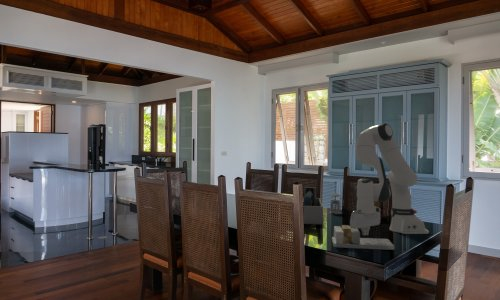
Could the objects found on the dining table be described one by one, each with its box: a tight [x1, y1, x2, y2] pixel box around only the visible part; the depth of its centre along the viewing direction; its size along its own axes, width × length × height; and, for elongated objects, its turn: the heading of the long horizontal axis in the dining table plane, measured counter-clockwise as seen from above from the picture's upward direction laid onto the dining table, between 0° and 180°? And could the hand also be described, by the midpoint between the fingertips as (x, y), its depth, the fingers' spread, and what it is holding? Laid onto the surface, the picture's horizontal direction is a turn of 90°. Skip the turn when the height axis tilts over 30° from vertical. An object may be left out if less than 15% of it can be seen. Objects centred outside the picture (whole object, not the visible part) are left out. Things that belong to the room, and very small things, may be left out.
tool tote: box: [302, 197, 324, 225], centre depth 263 cm, size 14×40×12 cm, turn 171°
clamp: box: [303, 186, 317, 206], centre depth 263 cm, size 35×9×21 cm, turn 167°
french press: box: [328, 181, 345, 215], centre depth 285 cm, size 10×12×25 cm
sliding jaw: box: [350, 227, 361, 244], centre depth 193 cm, size 4×14×6 cm, turn 171°
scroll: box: [374, 201, 387, 220], centre depth 263 cm, size 15×15×20 cm
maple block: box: [341, 224, 351, 242], centre depth 195 cm, size 4×8×7 cm, turn 172°
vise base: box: [331, 225, 395, 251], centre depth 192 cm, size 30×14×8 cm, turn 81°
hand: (365, 234), depth 192 cm, fingers closed
